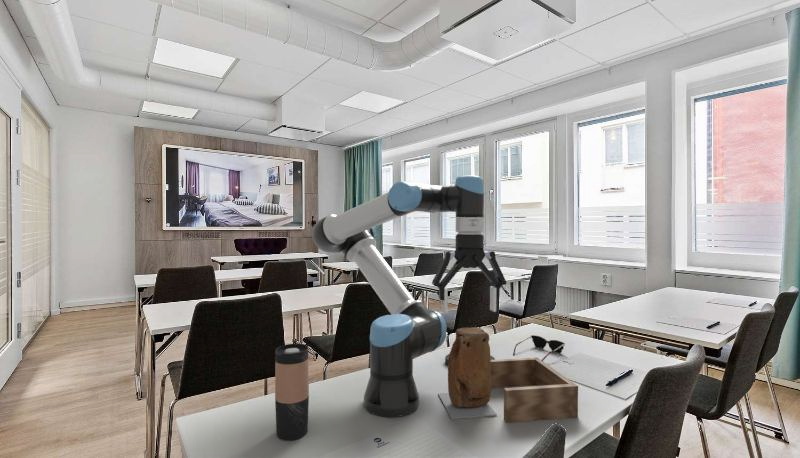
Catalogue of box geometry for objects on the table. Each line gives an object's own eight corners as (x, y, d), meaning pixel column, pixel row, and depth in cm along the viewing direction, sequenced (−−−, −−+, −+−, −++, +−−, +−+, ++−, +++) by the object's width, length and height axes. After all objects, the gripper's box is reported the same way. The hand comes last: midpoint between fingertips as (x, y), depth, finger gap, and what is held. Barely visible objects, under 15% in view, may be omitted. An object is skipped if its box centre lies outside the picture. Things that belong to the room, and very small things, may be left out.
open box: (506, 422, 96) (506, 390, 96) (477, 386, 117) (477, 360, 117) (577, 417, 99) (578, 386, 99) (537, 383, 120) (537, 357, 119)
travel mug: (311, 423, 95) (311, 343, 95) (305, 441, 88) (304, 353, 87) (280, 424, 95) (280, 343, 95) (271, 441, 88) (270, 354, 87)
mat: (451, 419, 98) (451, 417, 98) (438, 394, 111) (438, 393, 111) (496, 415, 99) (496, 414, 99) (478, 392, 113) (478, 390, 113)
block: (478, 394, 111) (478, 324, 111) (493, 405, 104) (494, 331, 104) (444, 400, 107) (444, 328, 107) (458, 412, 100) (458, 336, 100)
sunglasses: (565, 355, 146) (565, 342, 146) (543, 368, 135) (543, 354, 135) (532, 346, 156) (531, 334, 156) (509, 358, 146) (509, 345, 145)
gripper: (427, 234, 99) (427, 316, 100) (519, 233, 103) (518, 313, 103) (421, 233, 107) (421, 309, 107) (507, 232, 110) (506, 307, 111)
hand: (469, 311), depth 105 cm, fingers open, 13 cm apart
